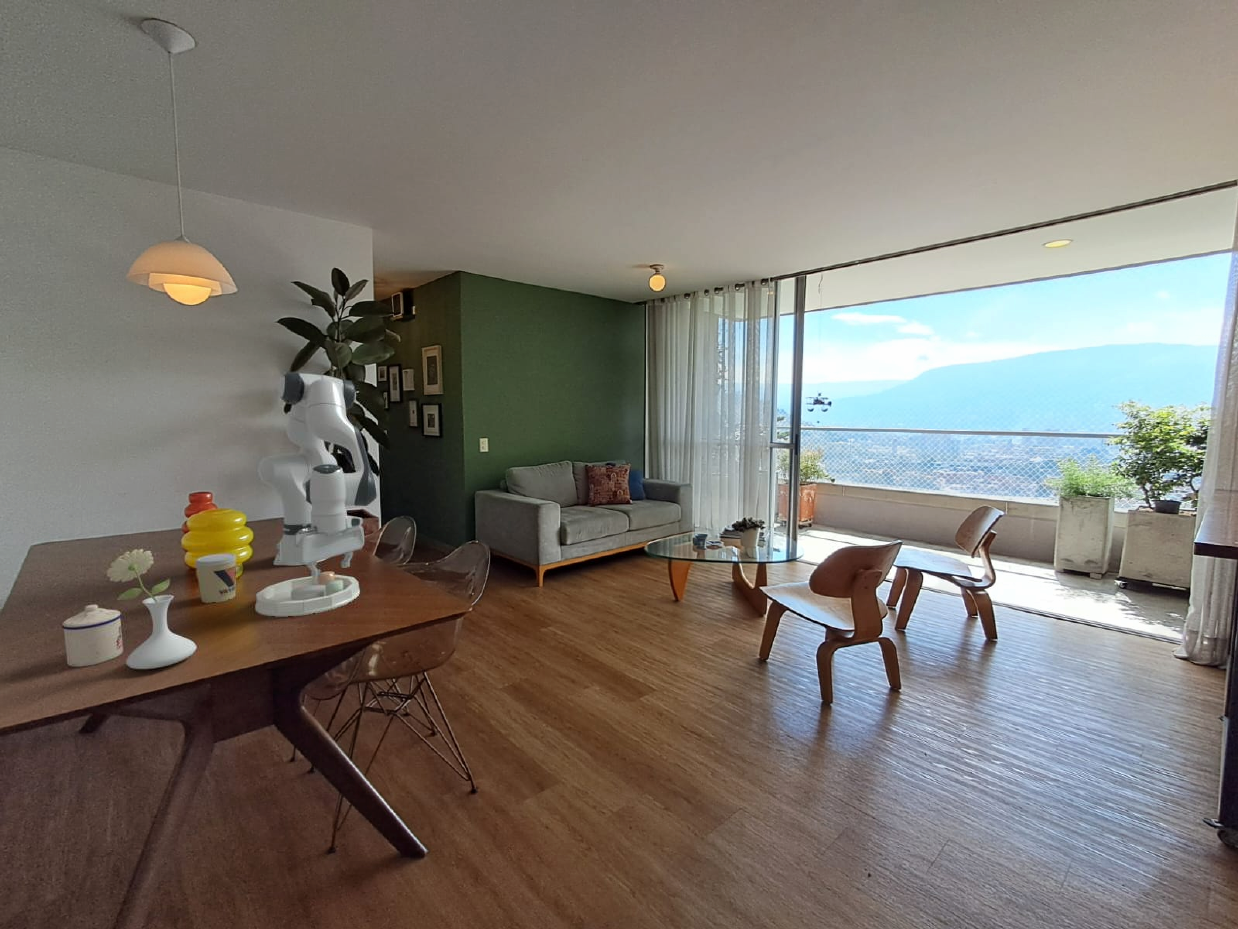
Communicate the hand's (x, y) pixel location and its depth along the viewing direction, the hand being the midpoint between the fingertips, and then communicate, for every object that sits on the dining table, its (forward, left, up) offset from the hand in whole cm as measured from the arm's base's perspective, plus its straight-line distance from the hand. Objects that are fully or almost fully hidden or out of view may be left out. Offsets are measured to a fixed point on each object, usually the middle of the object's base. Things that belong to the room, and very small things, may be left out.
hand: (331, 571), depth 150 cm
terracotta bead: (-10, 0, -7) cm, 13 cm away
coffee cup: (-23, -25, -9) cm, 35 cm away
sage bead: (+1, +1, -7) cm, 7 cm away
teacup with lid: (+6, -48, -9) cm, 49 cm away
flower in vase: (+19, -37, -9) cm, 42 cm away
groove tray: (-5, -5, -8) cm, 11 cm away
